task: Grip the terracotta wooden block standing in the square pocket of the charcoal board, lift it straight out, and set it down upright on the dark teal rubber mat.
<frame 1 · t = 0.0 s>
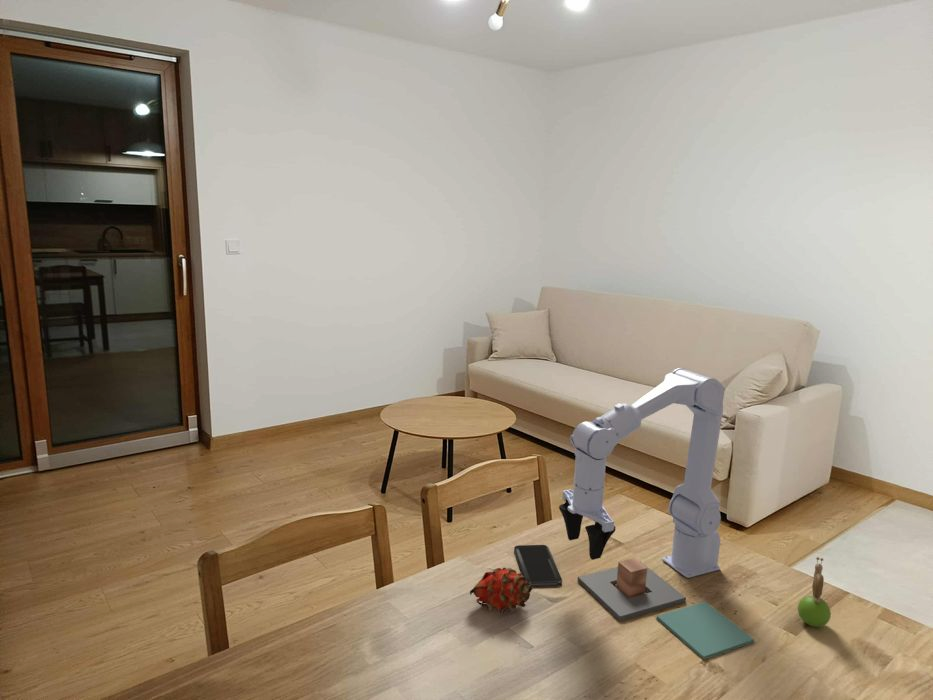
hand: (584, 548, 124), 10 cm above the table, tool pointing down, fingers open, 7 cm apart
charcoal pocket board: (630, 591, 127), on the table
dragon fruit: (500, 608, 121), on the table
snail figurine: (811, 623, 119), on the table
terracotta block: (631, 578, 127), in the charcoal pocket board
phone: (537, 568, 136), on the table
teal mat: (704, 630, 116), on the table
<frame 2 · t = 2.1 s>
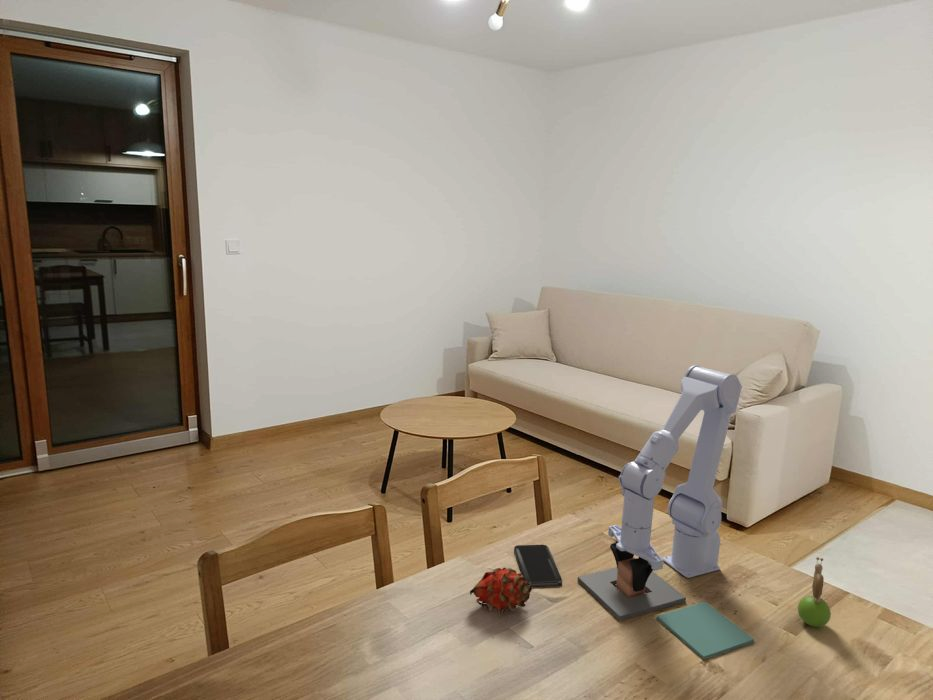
hand: (631, 583, 127), 2 cm above the table, tool pointing down, fingers closed on terracotta block, 4 cm apart
terracotta block: (631, 578, 127), in the charcoal pocket board, touching gripper
everything else where it was.
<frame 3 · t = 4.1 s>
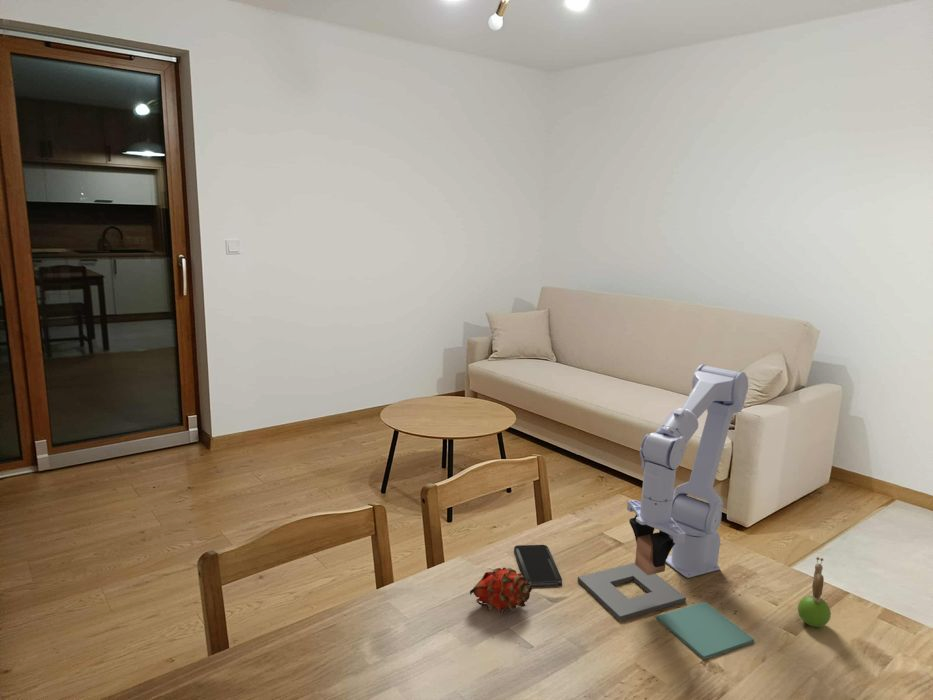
hand: (651, 559, 123), 9 cm above the table, tool pointing down, fingers closed on terracotta block, 4 cm apart
terracotta block: (651, 554, 122), point 10 cm above the table, touching gripper
everything else where it was.
when the fingers open (3 cm above the table, at t = 6.3 s): terracotta block stays where it is, resting on teal mat.
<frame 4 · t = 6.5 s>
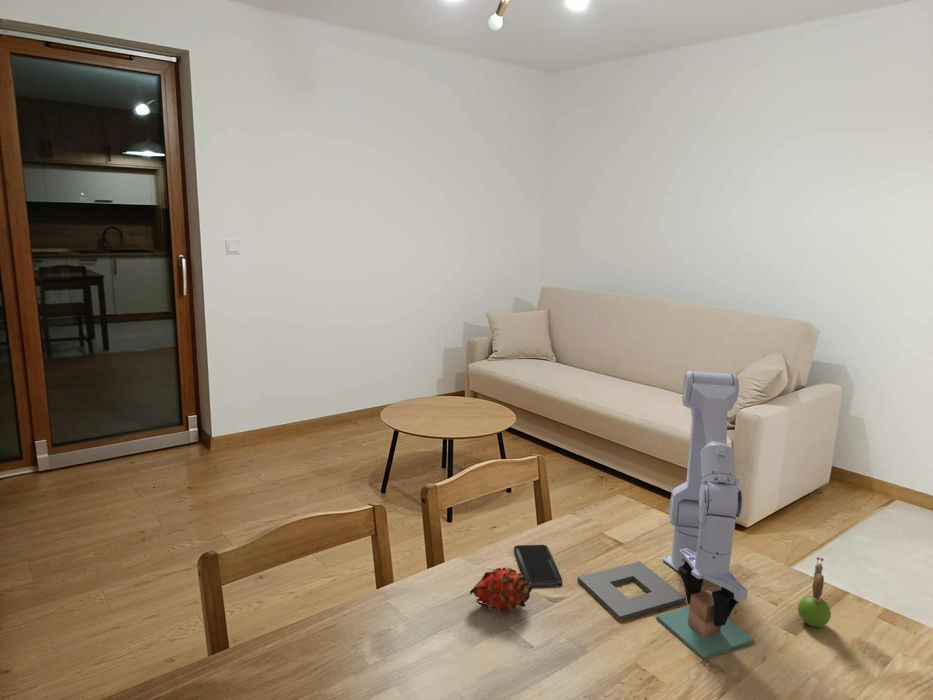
hand: (706, 613, 115), 3 cm above the table, tool pointing down, fingers open, 6 cm apart
terracotta block: (705, 612, 115), on the teal mat, point 4 cm above the table
everything else where it was.
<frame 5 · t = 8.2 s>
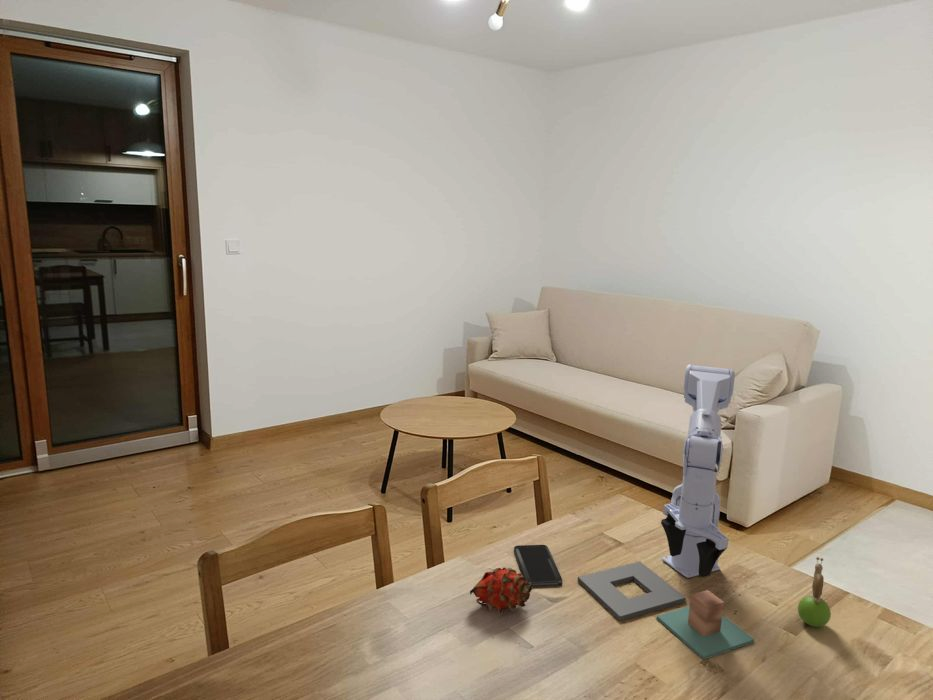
hand: (689, 564, 119), 10 cm above the table, tool pointing down, fingers open, 7 cm apart
nothing on the table moved.
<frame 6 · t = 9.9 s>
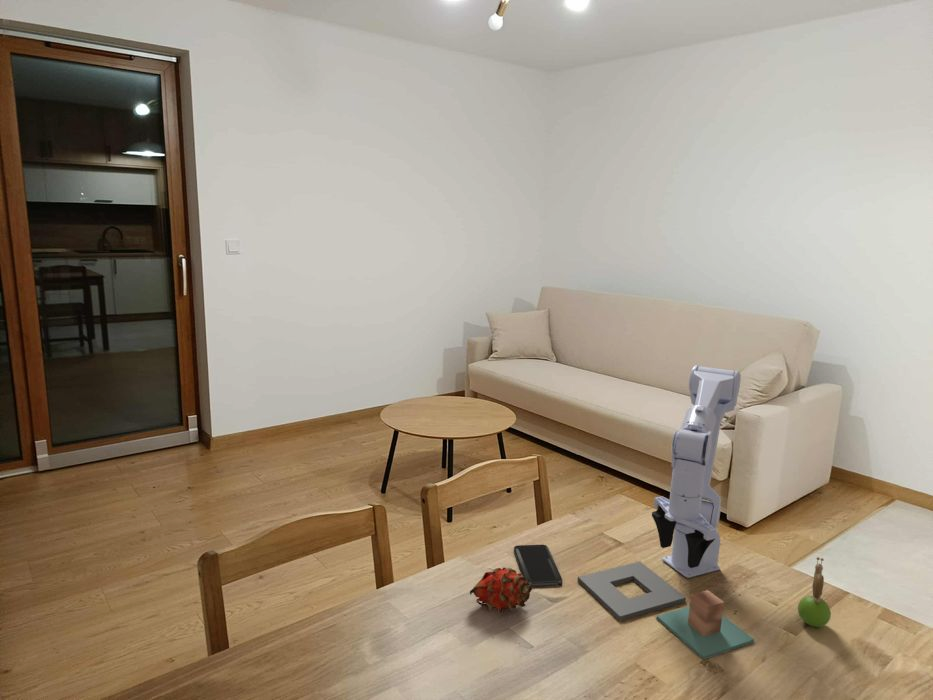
hand: (679, 556, 122), 10 cm above the table, tool pointing down, fingers open, 7 cm apart
nothing on the table moved.
at the end: terracotta block inside the target area on the teal mat (0.1 cm from its centre), point 3.6 cm above the teal mat's base; terracotta block tilted 0°; the gripper is holding nothing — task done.
